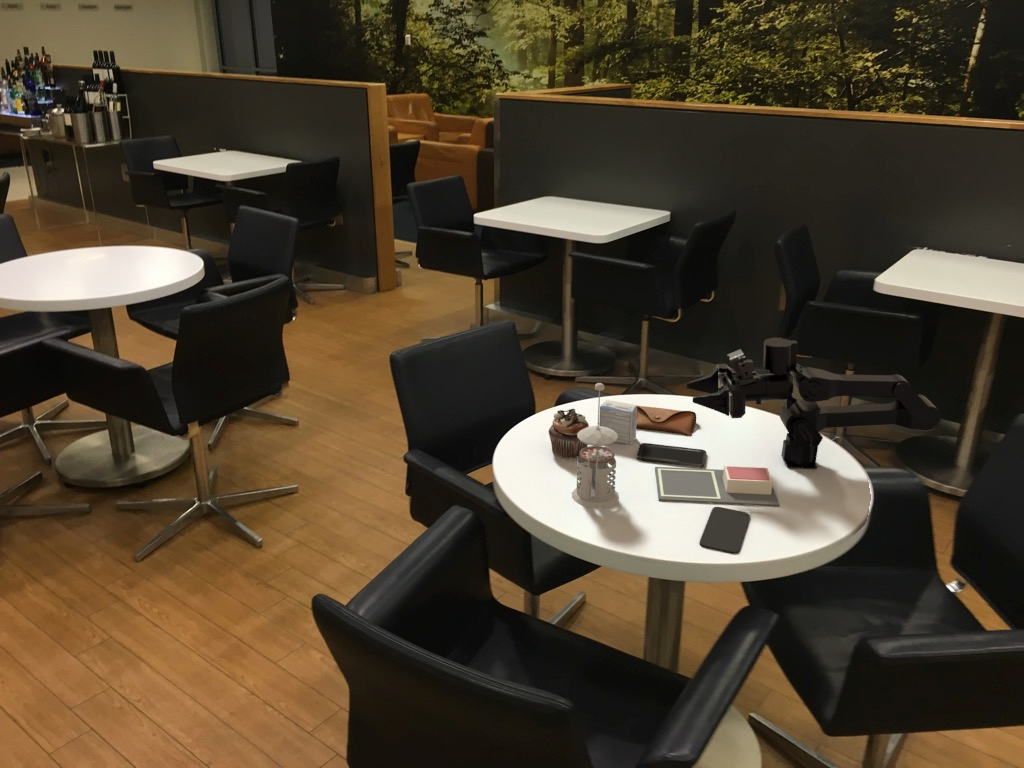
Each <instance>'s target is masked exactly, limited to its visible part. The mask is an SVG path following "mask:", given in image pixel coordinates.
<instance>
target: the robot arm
mask: <svg viewBox="0 0 1024 768" xmlns="http://www.w3.org/2000/svg"><path fill="white" fill-rule="evenodd" d="M798 351H799V343H798V342H797V340H795V339H792V340H789V339H787V338H779V337H769V338H767V339H765V340H764V341H763V369H765V370H767V371H768V373H763V374H759V373H758V372H757V371H756V370H755V369H756V366H755V363H754V361H753V360H752V359H747V357H746V356H745V353H744V352H743V350H742V349H741V348H740V349H737V350H735V351H733V352H731V353H727V354H726V357H727V359H728V360H729V361H730V364H731V366H732V369H733V371H732V369H731V367H729V365H727V363H717V364H716V366H715V367H713V370H712V372H710V374H708V375H706V376H703V377H700V378H697V379H694V380H692V381H689V382H687V383H686V388H687V389H689V390H693V391H696V392H702V393H706V394H702V395H697V396H693V397H692V403H693V404H697V405H700V406H701V407H704V408H707V409H711V410H713V411H717V412H718V413H721V414H723V415H725V416H727V417H729V416H730V418H731V419H742V418H743V416H744V415H746V403H749V402H750V403H753V402H754V403H755V405H762V402H767V401H768V402H769V401H780V400H781V401H782V403H783V404H784V405H782V407H781V408H780V410H779V415H778V416H779V419H780V421H781V422H782V424H783V425H784V427H785V429H786V431H787V433H786V438H785V439H784V440H783V442H782V449H781V455H780V456H781V458H782V460H783V462H784V463H785V466H786V467H787V468H789V469H790V468H792V469H811V470H817V469H818V464H817V457H818V456H817V455H818V450H819V445H821V442H822V441H823V439H824V437H823V436H822V434H821V432H822V431H824V430H826V429H838V428H839V429H840V428H853V427H854V428H855V427H856V428H857V427H875V426H878V427H881V426H896V427H900V428H904V429H906V430H911V431H921V432H928V431H932V430H934V429H935V428H936V427H937V426H938V425H939V423H940V422H941V420H942V419H941V418H942V413H941V411H940V410H939V409H938V408H937V406H935V405H934V403H932V402H931V400H929V399H928V398H927V397H926V396H925V395H923V394H918V393H917V392H916V391H915V390H914V389H913V388H912V387H911V384H910V382H909V381H907V379H906V378H905V377H903V376H902V375H900V374H897V373H896V374H891V375H888V374H887V375H886V374H885V375H881V374H877V375H876V374H873V375H872V374H841V373H840V374H838V373H833V372H830V371H827V370H825V369H821V368H815V367H811V366H807V367H804V366H802V365H800V364H799V363H797V362H798V361H797V359H798V358H797V356H798ZM791 376H792V377H793V378H792V381H791V379H790V378H791ZM794 388H795V390H796V392H797V393H798V394H799V396H800V397H801V398H797V397H796V396H795V394H794ZM835 397H836V398H838V397H876V398H877V397H881V398H887V397H888V398H890V397H891V398H896V400H894V401H892V402H889V403H874V404H872V403H870V404H851V405H850V404H849V405H834V406H831V405H830V406H822V405H819V404H818V402H824V401H829V400H831V399H833V398H835Z"/></svg>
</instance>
